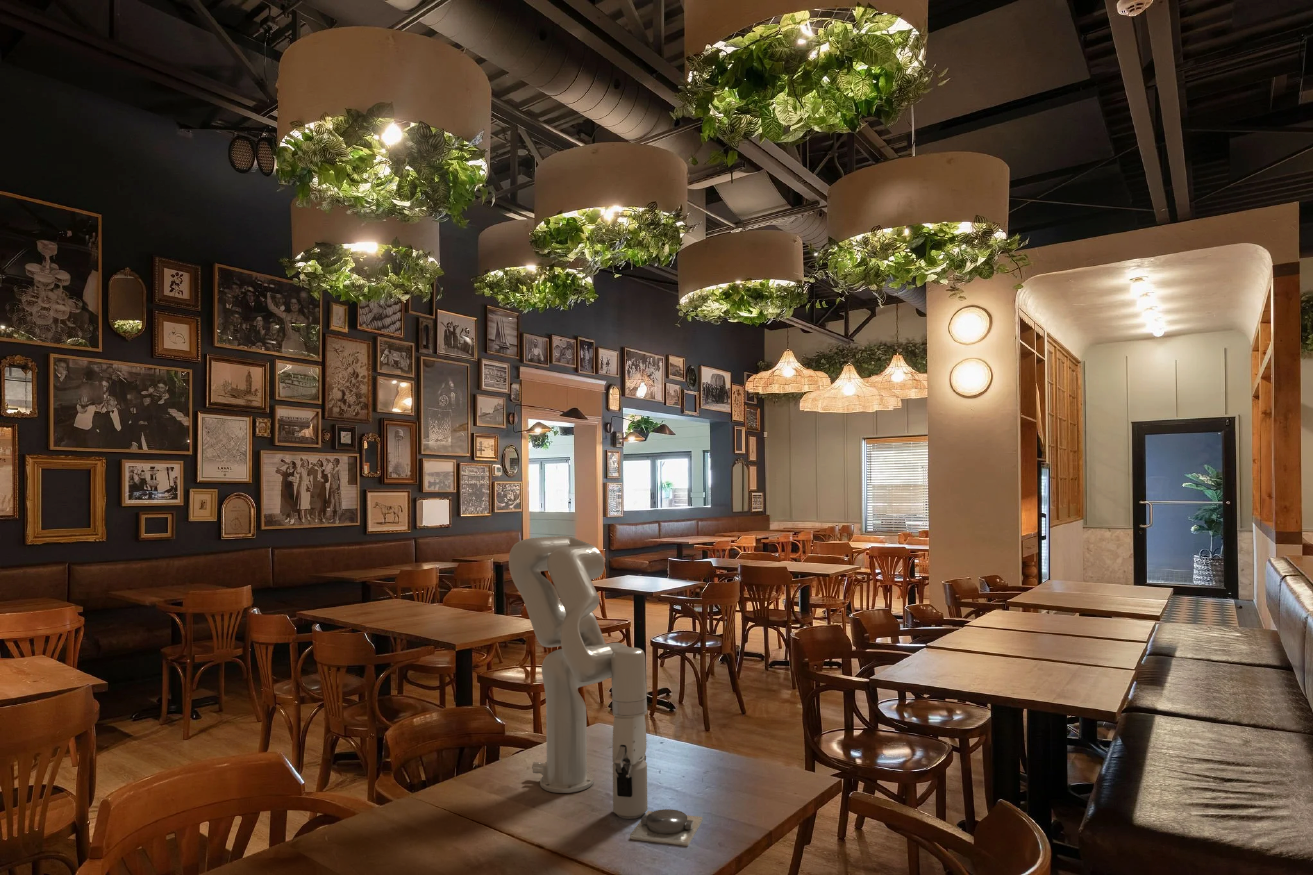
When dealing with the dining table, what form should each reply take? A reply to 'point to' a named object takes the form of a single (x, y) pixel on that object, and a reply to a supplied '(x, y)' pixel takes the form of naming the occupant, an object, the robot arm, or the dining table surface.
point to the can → (638, 800)
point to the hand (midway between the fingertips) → (632, 787)
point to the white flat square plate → (667, 827)
